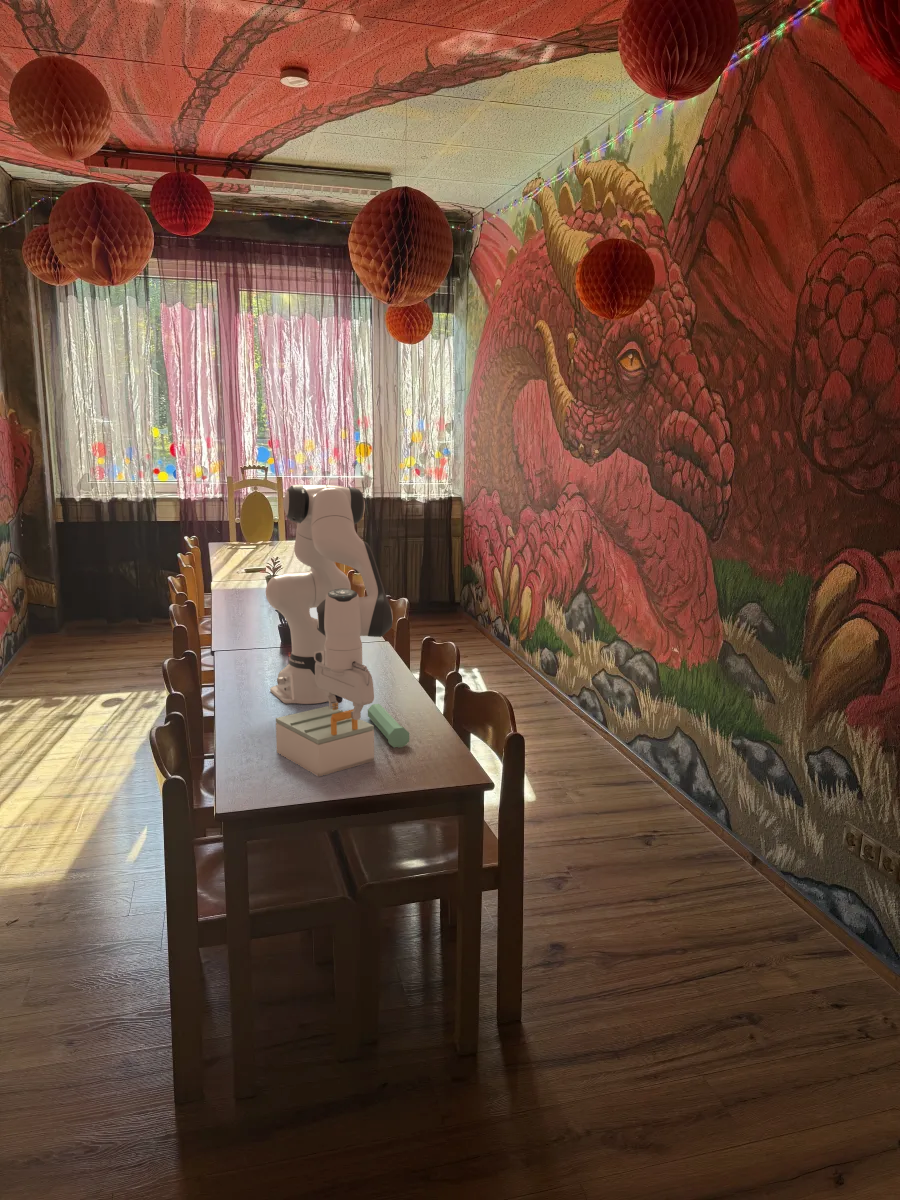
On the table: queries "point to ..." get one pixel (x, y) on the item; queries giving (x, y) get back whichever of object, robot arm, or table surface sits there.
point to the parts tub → (325, 751)
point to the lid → (324, 724)
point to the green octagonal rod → (388, 726)
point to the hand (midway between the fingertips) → (344, 713)
